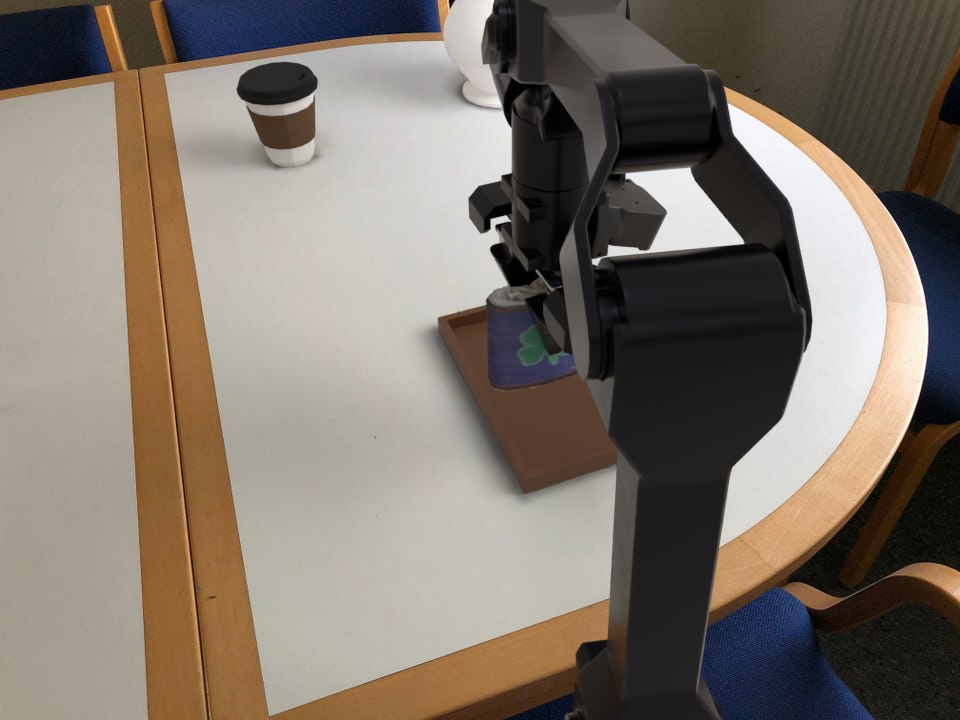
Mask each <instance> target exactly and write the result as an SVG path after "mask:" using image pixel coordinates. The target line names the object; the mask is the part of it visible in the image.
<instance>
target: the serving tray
mask: <svg viewBox="0 0 960 720" xmlns="http://www.w3.org/2000/svg"><path fill="white" fill-rule="evenodd" d="M486 314H487V308H486V304H484V305H480V306H476V307H472V308H469V309H465V310H461V311H457V312H453V313H450V314H445V315H441V316H438V317H437V327H438V328H437V329H438V333H439V336H440V338H441V339H442V341H443V344H444V345H445V347H446V349H447V351H448V352H449V354H450V356H451V358H452V361H453V362H454V364H455V366H456V368H457V369H458V372H459V374H460V375H461V377H462V379H463V381H464V383H465V385H466V386H467V389H468V390H469V392H470V394H471V396H472V398H473V400H474V401H475V404H476V405H477V407H478V410H479V411H480V413H481V414H482V417H483V419H484V421H485V422H486V425H487V427H488V428H489V431H490V432H491V433H492V436H493V437H494V439H495V441H496V443H497V445H498V447H499V449H500V451H501V453H502V455H503V456H504V459H505V460H506V462H507V464H508V466H509V467H510V470H511V472H512V474H513V476H514V478H515V479H516V481H517V484H518V485H519V487H520V488H521V491H522V493H523V494H524V495H526V494H530V493H532V492H536V491H539V490H541V489H545V488H548V487H551V486H553V485H558V484H560V483H563V482H565V481H566V482H567V481H569V480H572V479H575V478H578V477H581V476H585V475H587V474H591V473H593V472H597V471H600V470H602V469H606V468H609V467H612V466H615V465H617V450H618V449H617V448H616V446H615V445H614V444H613V442H612V441H611V440H610V438H609V436H608V434H607V431H606V429H605V426H604V424H603V422H602V419H601V417H600V414H599V412H598V410H597V407H596V405H595V402H594V400H593V398H592V395H591V393H590V390H589V388H588V386H587V383H586V381H585V380H581V378H580V376H579V374H576V375H573V376H571V377H570V376H569V377H567V378H565V379H561V380H558V381H555V382H550V383H547V384H545V385H541V386H538V387H534V388H527V389H523V390H516V391H503V392H502V391H498V390H495V389H493V388H492V387H491V385H490V382H489V381H488V380H489V379H488V353H487V340H488V339H487V318H486Z"/></svg>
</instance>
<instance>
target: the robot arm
mask: <svg viewBox="0 0 960 720" xmlns="http://www.w3.org/2000/svg"><path fill="white" fill-rule="evenodd" d="M630 8H631V7H630V2H629V0H494V4H493V9H492V13H491V14H490V16H489V17H488V18H487V19H486V23H485V28H484V33H483V38H482V43H481V52H482V62H483V65H485V64H489V66H490V69H491V72H492V76H493V81H494V84H495V87H496V90H497V93H498V97H499V100H500V103H501V106H502V108H501V109H502V113H503V115H504V118H505V121H506V123H507V124H508V126H509V127H510V129H511V172H510V173H509V172H508V173H505V174H500V175H501V176H500V180H498V181H493V182H489V183H484V184H481V185H478V186H477V187H476V188H475V190H474V191H473V192H472V193H471V194H470V196H468V198H467V200H468V201H467V202H468V204H467V205H468V218H469V220H470V221H471V223H472V224H473V226H474V227H475V228H476V230H477V231H478V232H479V234H480V235H483V234H486V233H488V232H489V231H491V230H492V220H493V219H497V218H502V217H505V216H506V217H507V218H508V221H504V222H501V223H495V224H494V230H495V232H496V233H497V235H498V242H497V243H494V244H491V246H490V247H489V252H490V255H491V256H492V258H493V259H494V261H495V263H496V265H497V266H498V267H497V268H498V269H499V271H500V272H501V275H502V276H503V278H504V280H505V282H506V284H507V285H510V287H521V286H524V285H530V284H531V283H532V282H533V281H535V280H536V279H537V278H539V277H540V278H541V279H542V280H543V282H544V283H545V284H546V286H547V287H548V288H547V289H546V293H543V294H540V295H536V296H532V297H529V298H525V299H524V301H525V303H526V306H527V308H528V310H529V313H530V315H531V317H532V319H533V322H534V324H535V326H536V328H537V331H538V333H539V335H540V338H541V340H542V342H543V344H544V346H545V349H546V351H547V353H548V354H549V355H554V354H558V353H560V352H561V351H563V352H564V353H567V354H571V355H573V357H574V362H575V365H576V368H577V372H578V374H579V376H580V378H581V380H585V381H586V383H587V386H588V388H589V390H590V393H591V395H592V398H593V400H594V402H595V405H596V407H597V410H598V412H599V414H600V417H601V419H602V422H603V424H604V426H605V429H606V431H607V434H608V436H609V438H610V440H611V441H612V442H613V444H614V445H615V446H616V448H617V449H618V450H617V464H616V473H615V488H614V489H615V490H614V505H613V506H614V509H613V526H612V543H611V544H612V547H611V563H610V565H611V566H610V581H609V582H610V583H609V601H608V603H609V604H608V619H607V620H608V621H607V624H608V625H607V636H606V637H607V638H606V639H599V640H592V641H591V640H590V641H584V642H581V644H580V645H579V647H578V648H577V650H576V652H575V681H574V684H573V688H574V691H573V701H572V702H573V704H572V706H573V707H572V708H573V710H572V712H565V714H564V720H724V717H723V714H722V711H721V709H720V705H719V704H718V702H717V700H716V698H715V697H714V696H713V695H712V694H711V692H710V690H709V687H708V685H707V682H706V679H705V677H704V676H703V672H702V664H703V657H704V652H705V651H704V650H705V646H706V645H705V644H706V636H707V631H708V624H709V619H710V611H711V605H712V599H713V598H712V597H713V592H714V590H713V589H714V585H715V579H716V572H717V565H718V558H719V552H720V545H721V538H722V531H723V526H724V520H725V512H726V506H727V499H728V493H729V486H730V479H731V474H732V470H733V468H734V467H735V465H736V464H738V463H739V462H740V461H741V460H742V459H743V458H744V457H745V456H746V455H747V454H748V453H749V452H750V451H751V450H752V449H753V448H754V447H755V446H756V445H757V444H758V443H759V442H760V441H761V440H762V439H763V438H764V437H765V436H766V435H768V434H769V432H770V431H771V430H772V429H773V428H774V427H776V426H777V425H778V424H779V422H781V420H782V419H783V417H784V415H785V413H786V410H787V407H788V403H789V400H790V398H791V395H792V391H793V388H794V385H795V382H796V379H797V375H798V373H799V370H800V366H801V363H802V360H803V356H804V354H805V352H806V351H807V349H808V347H809V343H810V342H811V339H812V330H813V321H814V320H813V310H812V302H811V296H810V292H809V291H810V290H809V285H808V281H807V276H806V271H805V266H804V260H803V257H802V256H803V255H802V251H801V245H800V239H799V235H798V230H797V226H796V225H797V224H796V220H795V216H794V210H793V207H792V205H791V203H790V201H789V199H788V198H787V197H786V195H785V194H784V192H783V191H782V190H781V189H780V188H779V187H778V186H777V184H776V183H775V181H773V180H772V178H771V177H770V176H769V175H768V173H766V171H765V170H764V168H763V167H762V166H761V165H760V164H759V163H758V162H757V161H756V159H755V158H754V157H753V156H752V155H751V154H750V152H749V151H748V150H747V149H746V147H745V146H744V145H743V144H742V143H741V142H740V140H739V139H738V138H737V137H736V135H735V133H734V131H733V124H732V119H731V115H730V109H729V104H728V98H727V93H726V89H725V86H724V82H723V79H722V77H721V76H720V74H719V73H718V72H717V70H715V69H703V68H702V67H701V66H700V65H699V64H698V63H687V62H686V61H684V60H683V59H681V58H680V57H679V56H678V55H676V54H675V53H674V52H672V51H671V50H669V49H668V48H667V47H666V46H664V45H662V43H660V42H659V41H658V40H656V39H654V37H652V36H650V35H649V34H648V33H646V32H645V31H644V30H643V29H641V28H640V27H638V26H637V25H636V24H634V23H633V22H632V21H631V9H630ZM680 169H690V173H691V175H692V177H693V180H694V182H695V184H697V185H698V187H699V188H700V189H701V190H702V191H703V192H704V194H705V195H706V196H707V198H708V199H709V201H711V202H712V204H713V205H714V206H715V208H716V209H717V210H718V212H720V213H721V215H722V216H723V217H724V218H725V219H726V221H727V222H728V223H729V225H731V227H732V228H733V229H734V231H735V232H736V234H738V235H739V237H740V238H741V239H742V241H743V243H739V244H738V243H737V244H729V245H721V246H720V245H718V246H707V247H698V248H696V247H695V248H687V249H677V250H676V249H675V250H664V251H655V252H646V251H650V249H651V247H652V245H653V243H654V241H655V240H656V237H657V235H658V233H659V231H660V228H661V227H662V225H663V223H664V220H665V219H666V217H667V215H668V211H667V209H666V208H665V206H663V205H662V204H661V203H660V202H659V201H658V200H656V198H655V197H654V196H653V195H652V194H650V193H649V192H648V190H647V189H645V188H644V187H643V186H641V185H638V184H637V183H635V182H634V180H632V179H631V178H626V177H627V174H634V173H645V172H657V171H668V170H680ZM609 246H611V247H620V248H621V247H622V248H633V249H634V248H635V249H638V250H639V251H643V252H644V253H635V254H633V253H631V254H623V255H622V254H621V255H613V256H608V255H609ZM599 258H600V259H599ZM597 259H599V261H598V263H597V265H596V264H593V260H597Z"/></svg>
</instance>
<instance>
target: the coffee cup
mask: <svg viewBox="0 0 960 720" xmlns="http://www.w3.org/2000/svg"><path fill="white" fill-rule="evenodd" d="M318 84H319V81H318V77H317V76H316V75H315V74H314V71H313V70H311V68H310V67H309V66H307V65H305V64H303V63H298V62H294V61H293V62H291V61H276V62H269V63H264V64H259V65H257V66H254V67H251V68H249V69H246V71H245V72H243V73H242V74H241V75H240V76H239V78H238V82H237V87H236V94H237V95H238V97H239V98H240V100H242V101H244V102H245V104H246V105H245V108H246V110H247V112H248V115H249V117H250V119H251V122H252V124H253V128H254V129H255V131H256V134H257V137H258V139H259V141H260V143H261V144H262V146H263V148H264V150H265V152H266V155H267V157H268V158H269V160H270V161H271V162H272V163H273V164H274V165H276V166H278V167H282V168H294V167H299V166H302V165H305V164H306V163H309V162H310V161H311V160H312V158H313V157H314V155H315V149H316V148H315V147H316V146H315V138H316V130H317V129H316V95H315V91H316V90H318Z"/></svg>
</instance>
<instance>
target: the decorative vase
mask: <svg viewBox="0 0 960 720" xmlns="http://www.w3.org/2000/svg"><path fill="white" fill-rule="evenodd" d="M493 4H494V0H454V1H453V3H452V5H451V7H450V9H449V11H448V12H447V15H446V17H445V20H444V25H443V33H442V34H443V37H442V38H443V45H444V49H445V52H446V54H447V55H448V57H449V58H450V60H451V61H452V62H453V64H454V65H455V67H456V68H457V69H458V70H459V71H460V72H461V73H462V74H463V76H465V77H466V78H467V80H466V81H465V82H464V84H463V85H462V94H463V97H464V98H465V100H466V101H468V102H470V103H472V104H474V105H477V106H480V107H485V108H491V109H492V108H493V109H502V106H501V103H500V100H499V97H498V93H497V90H496V87H495V84H494V81H493V76H492V72H491V69H490V66H489V64H485V65H483V62H482V52H481V43H482V38H483V33H484V28H485V23H486V19H487V18H488V17H489V16H490V14H491V13H492V9H493Z"/></svg>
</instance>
